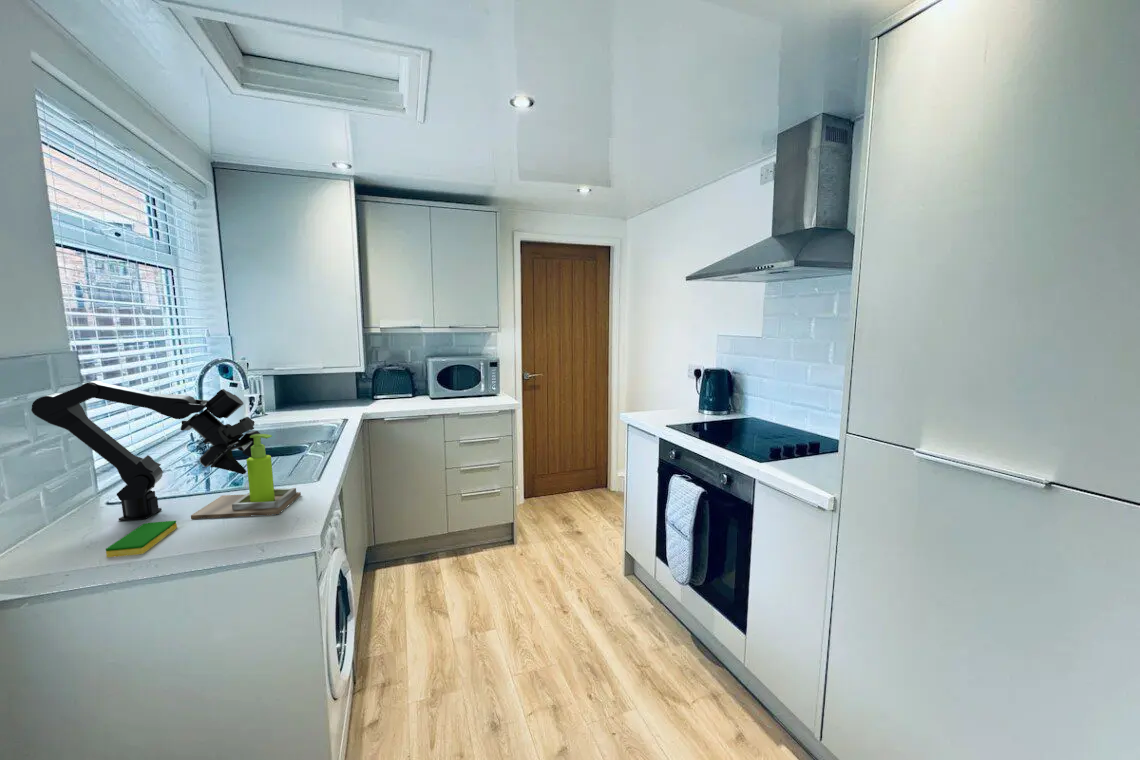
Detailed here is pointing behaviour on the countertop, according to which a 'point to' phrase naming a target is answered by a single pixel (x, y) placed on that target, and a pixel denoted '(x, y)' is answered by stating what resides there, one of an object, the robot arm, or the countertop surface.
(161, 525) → the dish sponge
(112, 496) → the countertop surface
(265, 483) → the soap dispenser
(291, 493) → the walnut holder board
